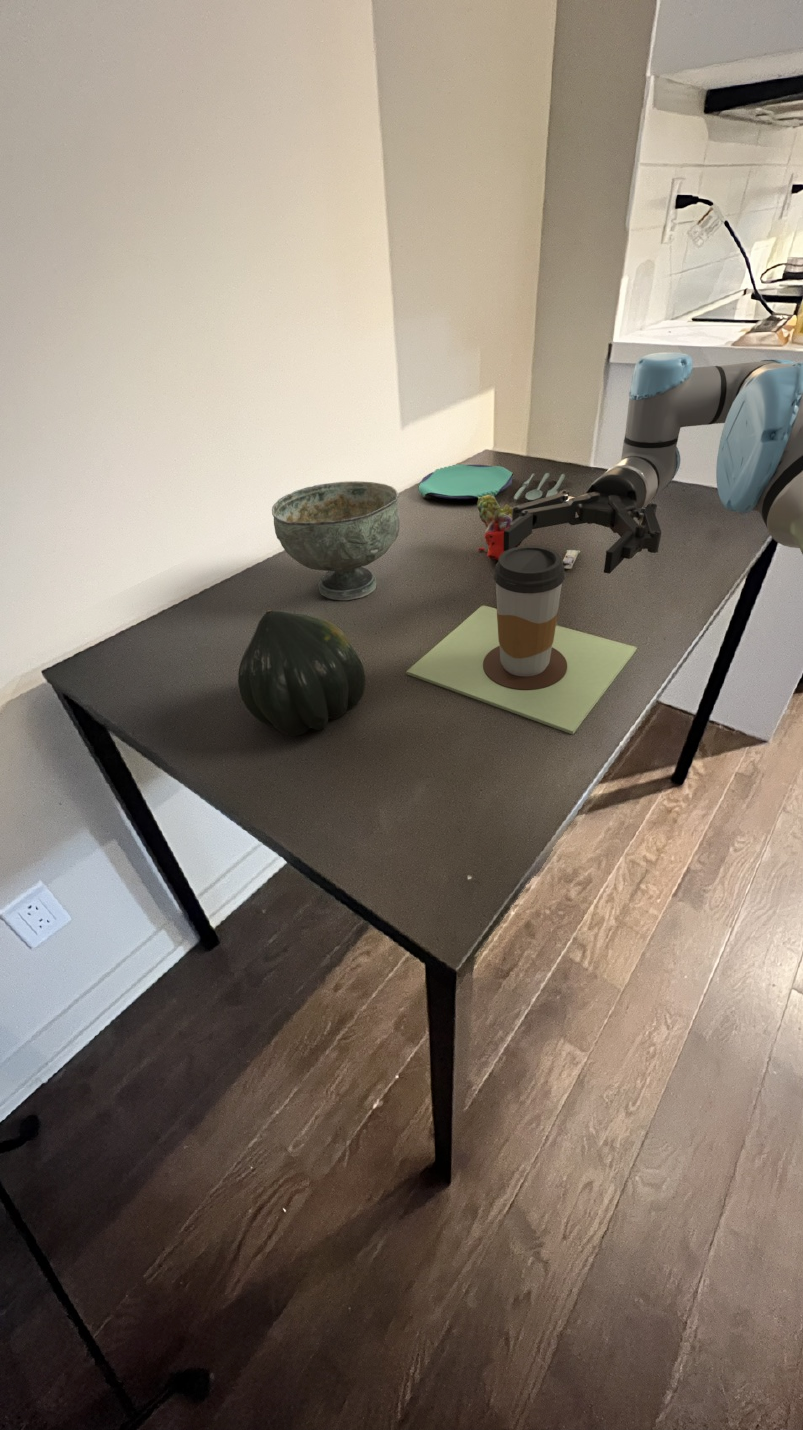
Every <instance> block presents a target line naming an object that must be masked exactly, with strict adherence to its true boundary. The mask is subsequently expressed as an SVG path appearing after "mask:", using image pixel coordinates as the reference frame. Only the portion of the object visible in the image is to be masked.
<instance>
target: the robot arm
mask: <svg viewBox="0 0 803 1430" xmlns="http://www.w3.org/2000/svg"><path fill="white" fill-rule="evenodd" d="M629 389H630V390H629V392H628V406H627V414H626V422H625V432H624V438H623V443H622V451H621V458H620V460H619V461H618V462H616V463H615V464H614V465H612V466H611V467H610V468H608V469H607V471H605V472H603V474H602V475H600V476H599V477H598V478H597V479H595V480H594V481H592V483H591V485H590V486H589V487H588V489H587V491H586V492H585V493H584V494H581V495H578V496H576V497H574V496H570V491H569V490H567V489H562V490H560V491H558V493H557V494H555V495H552V496H548V497H546V496H545V497H541V498H539V499H537V500H534V501H533V500H530V501H529V502H524V503H521V504H518V505H514V506H513V509H512V522H511V523H510V527H509V528H507V529H506V530H505V531H504V548H503V551H507V550H509V549H511V548H514V547H515V546H517V545H518V544H519V543H520V542H521V543H522V542H523V541H524V540H526V539H527V538H528V537H529V536H530V535H532V534H533V530H537V529H541V528H547V527H553V526H558V525H564V524H569V525H570V526H577V525H583V524H588V525H592V524H595V525H598V526H602V527H604V528H609V530H610V531H611V532H612V533H613V534H617V535H618V536H619V538H618V539H617V540H616V541H615V542H614V544H612V545H611V546H610V547H609V548H608V549H607V550H606V552H605V559H604V561H605V562H604V567H603V574H611V573H612V572H614V570H615V569H616V568H617V567H618V566H619V565H620V564H621V563H622V562H623V561H624V560H625V559H626V560H631V559H633V558H634V556H636V554H637V553H640V552H642V551H643V550H647V552H648V553H651V554H656V553H658V552H659V549H660V548H659V547H660V544H661V543H660V542H661V539H662V538H661V537H662V529H661V527H660V524H659V521H658V518H657V515H656V513H657V508H658V504H656V503H650V502H651V501H652V500H653V499H655V498H654V497H655V496H657V495H658V494H659V493H661V492H663V491H664V490H665V489H666V488H667V487H669V485H670V484H671V482H672V480H674V478H675V476H676V475H677V474H678V471H679V469H680V466H681V454H680V451H679V448H678V441H679V436H680V432H681V428H687V427H688V428H689V427H697V426H708V425H709V426H710V425H716V424H723V428H722V431H721V435H720V440H719V444H718V451H717V457H716V467H715V468H716V469H715V471H716V472H715V474H716V475H715V476H716V477H715V479H716V480H715V481H716V488H717V493H718V497H719V500H720V502H721V504H722V506H723V507H724V508H725V509H726V510H728V511H730V512H736V513H737V512H739V514H748V513H750V512H752V511H756V512H758V513H759V514H760V516H761V519H762V520H763V523H764V524H765V527H766V529H767V531H768V533H769V535H770V537H771V538H772V539H773V540H774V541H775V542H776V543H777V544H780V545H781V546H784V547H788V548H792V549H793V548H794V549H799V550H800V552H801V554H802V555H803V362H796V363H795V362H794V361H792V360H789V359H763V360H760V361H750V362H742V363H741V362H740V363H732V364H724V365H707V366H699V367H696V366H695V367H693V358H692V356H690V355H689V354H687V353H685V352H684V353H683V352H676V351H675V352H674V351H673V352H655V353H650V354H646V355H644V356H642V357H640V358H639V360H637V362H636V363H635V366H634V370H633V374H632V378H631V384H630V388H629ZM576 515H577V516H576ZM635 518H636V519H637V521H638V522H637V521H636V520H635Z"/></svg>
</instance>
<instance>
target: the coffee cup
mask: <svg viewBox="0 0 803 1430" xmlns="http://www.w3.org/2000/svg"><path fill="white" fill-rule="evenodd" d="M494 567H495V568H494V574H493V580H494V582H495V592H496V609H497V623H498V639H499V645H500V661H501V664H502V665H503V667H504V669H505V670H506V671H508V672H509V673H511V674H514V675H517V676H534V675H537V674H539V673H541V672H543V671H544V670H545V669H546V667H547V666H548V664H549V662H550V656H551V649H552V644H553V641H554V635H555V628H556V625H557V622H558V615H559V605H560V599H561V592H562V586H563V583H564V581H565V569H564V565H563V563H562V556H561V554H560V553H559V552H557V551H556V550H554V549H552V548H550V547H545V546H541V545H519V546H518V547H515V548H511V549H509V550H507V551H505V552H503V553H502V554H501V555H500V557H499V560H498V562H497V563H496V565H495V566H494Z"/></svg>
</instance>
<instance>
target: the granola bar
mask: <svg viewBox="0 0 803 1430" xmlns="http://www.w3.org/2000/svg"><path fill="white" fill-rule="evenodd" d="M580 553H581V550H574V549H567V550H566V552H565V555H564V557H563V559H562V560H561V562H562V563H563V565H564V570H565V569H566V570H571V569H573V565H574V564H575V561H576V560H577V557H578V554H580Z"/></svg>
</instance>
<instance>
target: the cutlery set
mask: <svg viewBox="0 0 803 1430" xmlns="http://www.w3.org/2000/svg"><path fill="white" fill-rule="evenodd" d="M513 475H514V472H512V471H510V470H509V469H507V468H505V467H504V466H501V465H496V466H495V465H494V466H493V465H487V464H460V463H459V464H458V463H457V464H452V465H448V466H444V467H440V468H436V469H435V470H434V471H431V472H429V473H428V474H427V475H425V476H424V477H422V479H421V481H419V485H418V492H419V494H420V495H421V496H422V497H423V498H425V496H426V495H427V494H428V495H430V496H434V497H436V498H441V499H446V500H447V499H448V500H472V499H478V498H479V497H483V496H487V495H493V496H494V497H495V498H496V496H497V495H498V494H499V493H500V492H503V491H505V490H506V489H508V488H509V487H511V485H512V483H513V480H514V476H513ZM535 475H536V474H535V473H531V475H530V477H528V478H527V480H526V481H524V482H523V483H522V484H521V487H520V488H519V489H518V490H517V491H516V493H515V494H514V495H513V500H514V501H515V502H516V501H517V500H518V499H519V498H520V497H521V495H522V494H523V492H524V491H525V490H528V487H529V485H530V482H531V481H532V479H533V478H535V477H536V476H535ZM549 477H550V472H545V474H544V475H543V477H542V478H541V480H540V483H539V484H538V486H537V488H536V489H532V490H529V491H528V492H526V494H525V495H524V496H525V497H524V498H525V499H527V501H535V500H538V499H541V498H543V497H542V496H543V491H542V490H540V489H541V488H542V487H543V485H544V483H546V481H547V480H548V478H549ZM565 478H566V474H565V473H562V474H561V475H560V476H559V479H558V480H557V482H556V484H555V485H554V487H552V488H551V489H550V490H549V489H548V490H547V492H546V495H545V497H548V496H552V495H555V494H557V493H558V492H559V491H558V489H559V488H560V487H561V485H562V482H563V481H564V479H565Z"/></svg>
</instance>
